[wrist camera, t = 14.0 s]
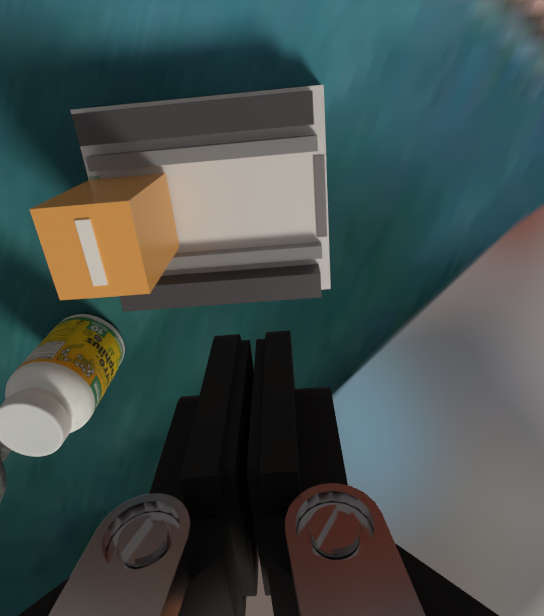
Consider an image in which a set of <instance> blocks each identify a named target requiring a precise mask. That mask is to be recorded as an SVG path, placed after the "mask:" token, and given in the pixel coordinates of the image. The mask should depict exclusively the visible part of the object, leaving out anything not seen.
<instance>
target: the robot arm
mask: <svg viewBox="0 0 544 616" xmlns="http://www.w3.org/2000/svg"><path fill="white" fill-rule="evenodd" d="M258 558H260V565H261V571H262V577H263V584H264V590H265V595H271V599H272V606H273V612H274V616H499V615H497V614H496V613H494V612H493V611H491V610H490V609H488V608H487V607H486V606H484V605H483V604H481V603H480V602H479V601H477V600H476V599H474V598H473V597H471V596H470V595H468V594H467V593H466V592H464V591H463V590H461V589H460V588H459V587H457V586H456V585H454V584H453V583H451V582H450V581H448V580H447V579H446V578H444V577H443V576H441V575H440V574H438V573H437V572H435V571H434V570H433V569H431V568H430V567H428V566H427V565H425V564H424V563H422V562H421V561H420V560H418V559H417V558H415V557H414V556H413V555H411V554H410V553H408V552H407V551H405V550H404V549H402V548H401V547H400V546H398V545H397V544H395V542H394V540H393V538H392V536H391V533H390V531H389V528H388V526H387V524H386V521H385V519H384V517H383V514H382V513H381V511H380V509H379V508H378V506H377V505H376V503H375V502H374V501H373V500H372V499H371V498H370V497H369V496H367V495H366V494H365V493H364V492H362V491H360V490H358V489H356V488H354V487H352V486H348V484H347V478H346V473H345V467H344V461H343V456H342V450H341V445H340V439H339V434H338V427H337V422H336V416H335V411H334V405H333V399H332V394H331V389H330V387H320V388H305V389H295V383H294V371H293V358H292V346H291V334H290V331H277V332H266V336H265V339H257V340H256V352H255V365H254V368H253V360H252V353H251V345H250V341H249V340H242V341H241V337H240V335H239V334H236V335H223V336H214V339H213V343H212V347H211V351H210V355H209V360H208V364H207V368H206V372H205V376H204V380H203V384H202V388H201V392H200V396H185V397H181V398H180V399H179V401H178V403H177V406H176V409H175V412H174V416H173V419H172V422H171V425H170V429H169V432H168V435H167V438H166V442H165V445H164V448H163V451H162V454H161V458H160V461H159V464H158V467H157V471H156V474H155V477H154V480H153V484H152V487H151V490H150V493H149V494H144V495H141V496H138V497H135V498H132V499H130V500H128V501H126V502H125V503H123V504H121V505H119V506H118V507H117V508H115V509H114V510H113V511H112V512H111V513H110V514H108V515H107V516H106V517H105V519H104V520H103V522H102V523H101V524H100V526H99V527H98V528H97V530H96V532H95V533H94V535H93V537H92V539H91V541H90V542H89V544H88V546H87V548H86V549H85V551H84V553H83V555H82V557H81V558H80V560H79V562H78V564H77V565H76V567H75V569H74V571H73V573H72V574H71V576H70V577H69V578H68V579H67V580H65V581H64V582H63V583H61V584H60V585H58V586H57V587H56V588H54V589H53V590H52V591H50V592H49V593H48V594H46V595H45V596H44V597H42V598H41V599H40V600H38V601H37V602H36V603H34V604H33V605H32V606H30V607H29V608H28V609H26V610H25V611H24V612H22V613H21V614H20V615H18V616H245V609H246V596H256V595H257V585H258Z"/></svg>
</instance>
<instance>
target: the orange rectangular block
mask: <svg viewBox="0 0 544 616" xmlns="http://www.w3.org/2000/svg"><path fill="white" fill-rule="evenodd" d="M30 212H31V215H32V218H33V221H34V224H35V227H36V230H37V233H38V236H39V239H40V242H41V245H42V248H43V251H44V254H45V257H46V260H47V263H48V266H49V269H50V272H51V275H52V278H53V281H54V284H55V287H56V290H57V293H58V296H59V299H60V300H72V299H85V298H99V297H113V296H126V295H140V294H150V293H151V291H152V290H153V288H154V287H155V285H156V283H157V282H158V280H159V279H160V277H161V276H162V274H163V272H164V271H165V269H166V268H167V266H168V265H169V263H170V261H171V260H172V258H173V257H174V255H175V253H176V252H177V250H178V249H179V247H180V246H179V241H178V236H177V230H176V225H175V220H174V214H173V209H172V204H171V198H170V193H169V188H168V183H167V177H166V173H158V174H147V175H136V176H125V177H114V178H102V179H91V180H88V181H86V182H84V183H82V184H80V185H78V186H76V187H74V188H72V189H70V190H68V191H66V192H64V193H62V194H60V195H58V196H56V197H54V198H52V199H50V200H48V201H46V202H44V203H41V204H39V205H37V206H35V207H33V208H31V209H30Z"/></svg>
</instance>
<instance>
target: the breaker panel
mask: <svg viewBox="0 0 544 616" xmlns="http://www.w3.org/2000/svg"><path fill="white" fill-rule="evenodd" d="M70 111H71V115H72V119H73V122H74V126H75V130H76V134H77V137H78V141H79V145H80V149H81V152H82V156H83V160H84V164H85V167H86V171H87V175H88V179H89V180H91V179H102V178H114V177H125V176H136V175H147V174H158V173H166V177H167V183H168V188H169V193H170V198H171V204H172V209H173V214H174V220H175V225H176V230H177V236H178V241H179V246H180V247H179V249H178V250H177V252H176V253H175V255H174V257H173V258H172V260H171V261H170V263H169V265H168V266H167V268H166V269H165V271H164V272H163V274H162V276H161V277H160V279H159V280H158V282H157V283H156V285H155V287H154V288H153V290H152V291H151V293H150V294H140V295H126V296H120V300H121V303H122V307H123V311H137V310H151V309H165V308H178V307H192V306H206V305H220V304H234V303H248V302H262V301H276V300H290V299H304V298H318V297H322V295H321V290H322V289H330V260H329V230H328V201H327V171H326V141H325V112H324V85H314V86H304V87H294V88H284V89H274V90H264V91H254V92H244V93H234V94H223V95H213V96H203V97H193V98H183V99H173V100H163V101H153V102H143V103H132V104H122V105H112V106H102V107H92V108H82V109H74V110H70Z"/></svg>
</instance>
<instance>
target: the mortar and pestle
mask: <svg viewBox="0 0 544 616" xmlns="http://www.w3.org/2000/svg"><path fill="white" fill-rule="evenodd" d="M10 451H11V449H10V448H8V447H7V446H5V445H4V444H3V443H2V442H1V441H0V502H1V499H2V497H3V495H4V493H5V491H6V472H5V468H4V465H3V461H4V460H5V459H6V457H7V456H8V454H9V453H10Z"/></svg>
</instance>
